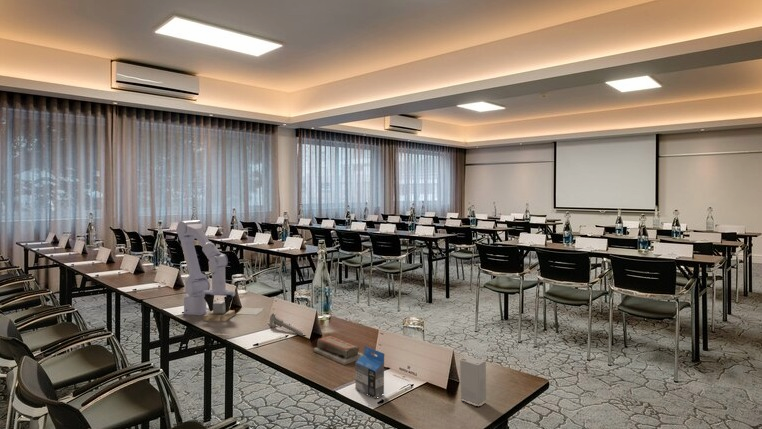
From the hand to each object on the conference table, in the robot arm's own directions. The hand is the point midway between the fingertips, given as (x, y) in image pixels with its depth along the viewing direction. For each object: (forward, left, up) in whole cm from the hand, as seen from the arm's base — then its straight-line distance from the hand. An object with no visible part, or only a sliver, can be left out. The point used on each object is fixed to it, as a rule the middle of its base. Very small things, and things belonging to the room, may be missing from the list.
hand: (219, 311), depth 200 cm
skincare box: (+107, -65, -4) cm, 125 cm away
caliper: (+36, -13, -4) cm, 38 cm away
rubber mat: (+10, +11, -3) cm, 15 cm away
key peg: (0, 0, -3) cm, 3 cm away
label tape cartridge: (+77, -62, -4) cm, 99 cm away
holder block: (0, 0, -3) cm, 3 cm away
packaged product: (+62, -35, -4) cm, 71 cm away
